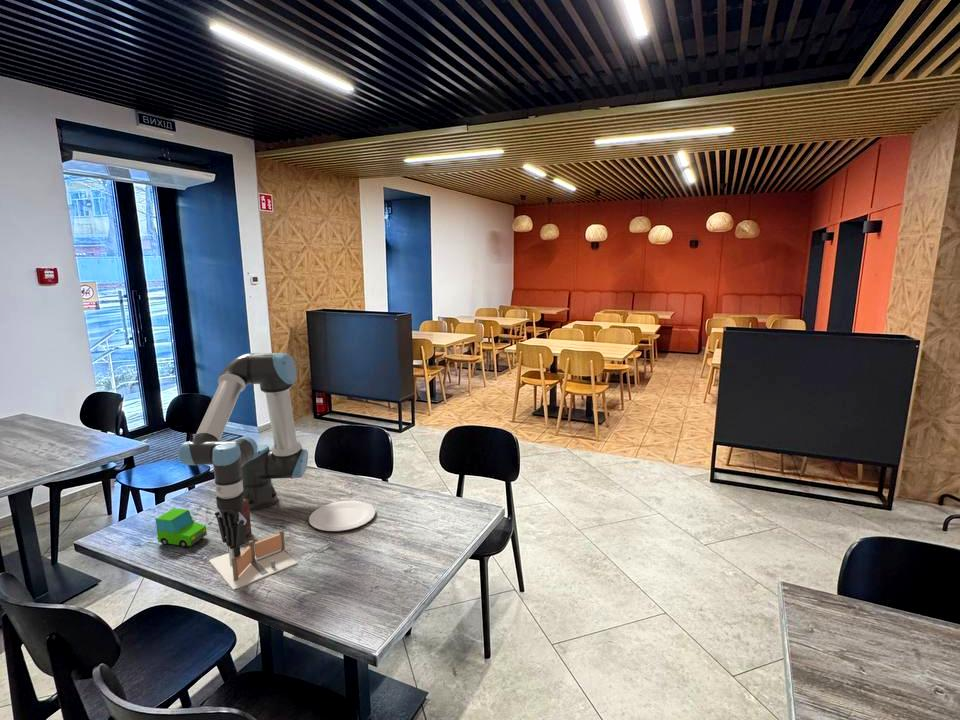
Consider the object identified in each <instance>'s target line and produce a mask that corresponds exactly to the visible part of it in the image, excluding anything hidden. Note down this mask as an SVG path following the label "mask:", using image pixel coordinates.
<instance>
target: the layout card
mask: <svg viewBox="0 0 960 720" xmlns="http://www.w3.org/2000/svg"><path fill="white" fill-rule="evenodd" d="M248 546H249V545H247V546H245V547H240V552H241V553H242V552H243V551H244V550H245V549H246V548H247V547H248ZM254 549H255V542H254ZM208 562H209V563H210V564H211V565H212V567H213V568H214V570H215V571H216V572H217V573H218V574H219V575H220V577H221V578H222V579H223V581H225V583H226V584H227V585H228V586H229V587H230V588H231V589H232V590H233V591H236V590H237V589H240V588H242V587H245V586H247V585H250V584H252V583H254V582H256V581H257V582H258V581H259V580H261V579H264V578H266V577H269V576H271V575H273V574H276V573H279V572H281V571H284V570H286V569H289V568H290V567H293V566H295V565H297V564H298V562H297V561H296V560H295V559H294V558H293V557H292V556H291V555H289V554H288V553H287V552H286V551H285V550H281V549H280V550H277V551H275V552H272V553H269V554H267V555H264V556H262V557H259V558H256V554H255V562H253V563H250V564H249V565H248V566H247V568H246V569H245V570H244V571H243V572H242V573H241V574H240V575H239V576H238V577H239V579H238V580H234V579H233V568H232V567H231V566H230V558H229V552H228V553H224V554H221V555H218V556H217V557H214V558H211V559H209V560H208ZM235 589H236V590H235Z"/></svg>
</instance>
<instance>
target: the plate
mask: <svg viewBox="0 0 960 720" xmlns="http://www.w3.org/2000/svg"><path fill="white" fill-rule="evenodd" d="M375 515H376V509H375V508H374V506H373V505H372V504H370V503H368V502H364V501H360V500H341V501H335V502H334V501H333V502H329V503H327V504H325V505H323V506H320V507H319V508H316V509H315V510H314V511H313V512H312V513H311V514H310V515H309V517H308V523H309V524H310V526H312V527H313V528H314V529H316V530H320V531H322V532H323V531H324V532H330V533H331V532H333V533H335V532H344V531H350V530H351V531H352V530H354V529H357V528H360V527H362V526H365V525H366V524H368V523H369V522H371V521H372V520H373V519H374V517H375Z"/></svg>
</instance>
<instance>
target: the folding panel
mask: <svg viewBox="0 0 960 720" xmlns="http://www.w3.org/2000/svg"><path fill="white" fill-rule="evenodd" d="M247 546H248V547H247V548H246V549H245V550H244V551H243V552H242V553H241V554H240V555H239V556H238V557H237V558H234V559H232V568H233V579H234V580H238V579H239V577H238V576H239V575H240V574H241V573H242V572H243V571H244V570H245V569H246V568H247V566H248V565H249V564H250V563H251V562H252V553H251V547H250V546H249V545H247Z"/></svg>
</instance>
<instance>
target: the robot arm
mask: <svg viewBox="0 0 960 720" xmlns="http://www.w3.org/2000/svg"><path fill="white" fill-rule="evenodd" d="M297 376H298V375H297V367H296V363H295V360H294V358H293V357H292V356H291V355H290V354H289V353H284V352H283V353H281V352H269V353H267V352H264V353H263V352H259V353H257V352H256V353H255V352H252V353H251V352H249V353H245V354H242V355H239V356H237V357H236V358H234V359H233V360H231V362H230V361H229V363H228V364H227V365H226V366H225V368H223V370H222V371H221V373H220V374H219V377H218V379H217V383H218V386H217V388H216V390H215V392H214V395H213V397H212V399H211V401H210V402H209V405H208V407H207V409H206V412H205V414H204V416H203V418H202V420H201V422H200V425H199V427H198V429H197V431H196V433H195V435H194V437H193V439H192V440H189V441H184V442H183V443H181V445H180V446H179V449H178V459H179V461H180V463H181V464H182V465H184V466H185V465H187V466H206V465H207V466H208V465H209V466H211V465H213V474H214V487H215V495H216V497H215V501H216V508H217V510H218V511H216V512H214V516H215V519H216V520H217V524H218V529H219V532H220V537H221V540H222V541H221V542H222V543H225V544H226V546H227V549H228V553H229V558H230V566H231V567H232V559H234V558H237V557H238V556H239V555H240V554H241V552H240V549H241V546H243V545H245V544H246V539H247V538H246V529H247V523H248V521H249V519H248V518H244V517H243V512H242V510H241V507H242V505H243V504H244V497H247V499H248V500H249V510H250V511H255V510H261V509H265V508H268V507H270V506H272V505H273V504H275V503H277V501H278V493H277V491H276V489H275V486H274V484H273V482H272V480H273V479H275V480H276V479H291V480H292V479H300V478H302V477H303V476H304V475H305V473H306V470H307V468H308V467H307V466H308V460H309V451H308V450H307V449H306V448H303V447H302V443H301V442H300V441H298V440H297V433H296V425H295V420H294V414H293V412H294V411H293V406H292V400H291V393H290V390H291V388H292V387H294V386H293V385H294V383H295V382H296V381H297ZM248 385H259V388H260V391H261V392H262V393H264V394H265V397H266V404H267V410H268V415H269V421H270V428H271V433H272V439H273V446H272V447H271V449H270V447H269V445H267V444H257V442H256V441H255V439H254V438H252V437H249V436H243V437H240V438H238V439H237V440H221V438H222V436H223V433H224V431H225V429H226V426H227V424H228V422H229V420H230V417H231V415H232V412H233V410H234V408H235V405H236V403H237V401H238V399H239V396H240V394H241V392H244V390H245V389H246V387H247V386H248ZM245 538H246V539H245Z"/></svg>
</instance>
